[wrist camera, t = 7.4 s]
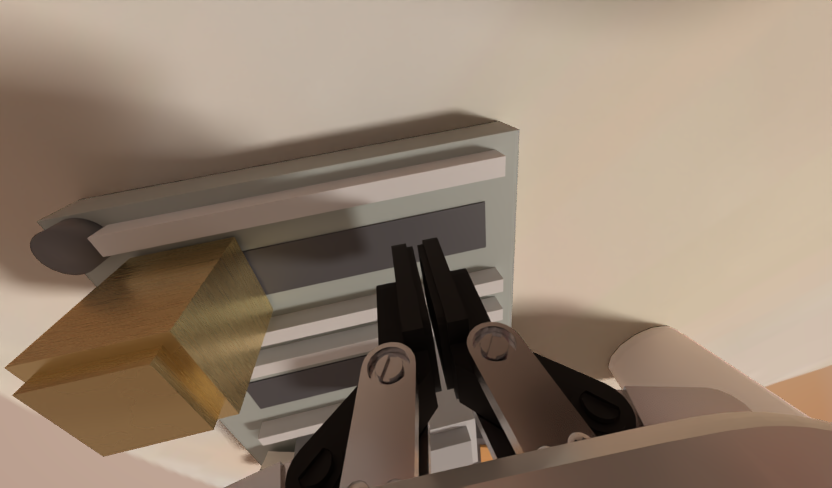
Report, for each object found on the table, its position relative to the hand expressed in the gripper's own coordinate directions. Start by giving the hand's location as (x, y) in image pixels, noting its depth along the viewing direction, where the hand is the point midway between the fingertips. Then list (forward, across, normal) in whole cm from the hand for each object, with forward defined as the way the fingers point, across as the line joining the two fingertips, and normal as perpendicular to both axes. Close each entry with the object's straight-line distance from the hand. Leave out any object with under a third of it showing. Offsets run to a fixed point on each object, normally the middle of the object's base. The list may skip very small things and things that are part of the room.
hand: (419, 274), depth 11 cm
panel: (+5, +4, +8) cm, 10 cm away
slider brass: (+2, +9, 0) cm, 9 cm away
